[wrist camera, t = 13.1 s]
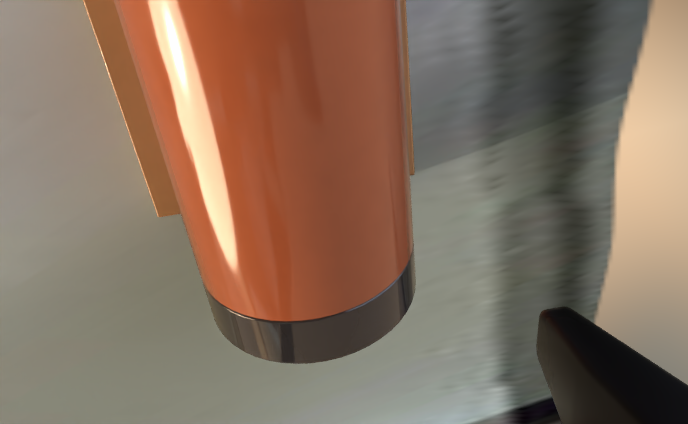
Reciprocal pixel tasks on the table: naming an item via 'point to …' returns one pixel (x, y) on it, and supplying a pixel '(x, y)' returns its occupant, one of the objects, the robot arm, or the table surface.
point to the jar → (285, 163)
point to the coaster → (137, 113)
